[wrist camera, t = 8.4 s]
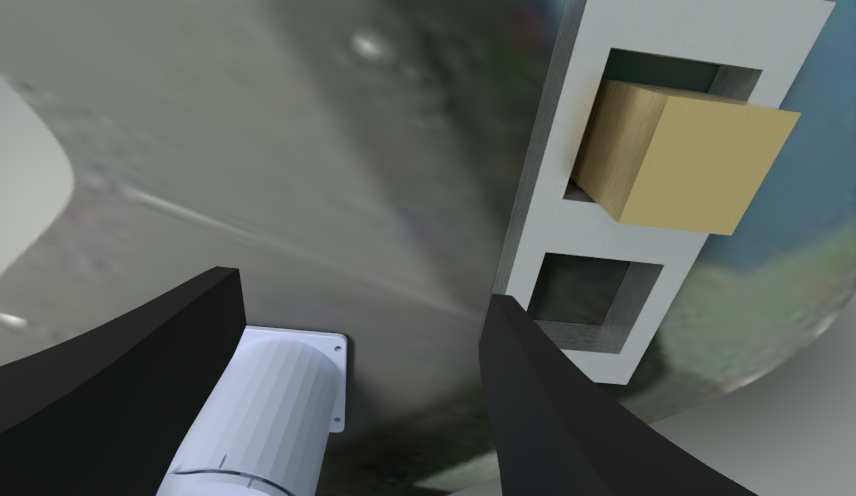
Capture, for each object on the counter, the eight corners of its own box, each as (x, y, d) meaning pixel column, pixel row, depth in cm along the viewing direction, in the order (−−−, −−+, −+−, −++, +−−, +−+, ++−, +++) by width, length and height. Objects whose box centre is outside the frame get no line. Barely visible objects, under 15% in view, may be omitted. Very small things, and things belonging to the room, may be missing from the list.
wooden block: (649, 182, 20) (730, 235, 14) (565, 172, 19) (618, 223, 14) (689, 89, 18) (800, 113, 12) (594, 77, 17) (669, 96, 12)
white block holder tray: (609, 355, 26) (626, 384, 23) (478, 343, 25) (483, 372, 23) (779, 7, 16) (836, 2, 14) (572, -27, 15) (597, -37, 13)
